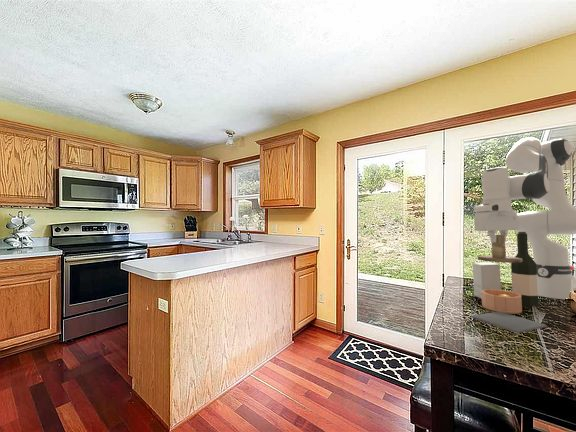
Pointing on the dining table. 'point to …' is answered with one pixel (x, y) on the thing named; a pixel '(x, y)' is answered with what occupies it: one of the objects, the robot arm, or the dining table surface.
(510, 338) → the dining table surface
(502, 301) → the bowl
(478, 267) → the skincare box
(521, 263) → the wine bottle
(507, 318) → the mat
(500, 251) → the lid
